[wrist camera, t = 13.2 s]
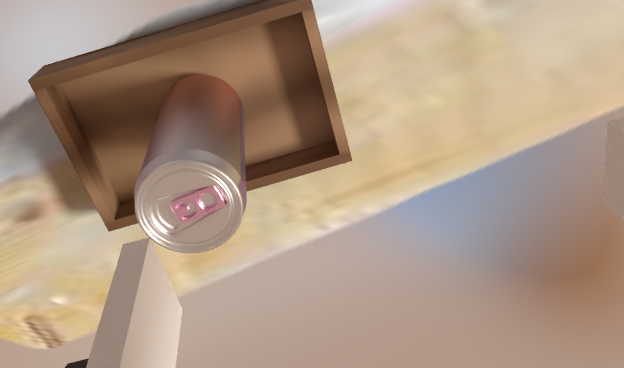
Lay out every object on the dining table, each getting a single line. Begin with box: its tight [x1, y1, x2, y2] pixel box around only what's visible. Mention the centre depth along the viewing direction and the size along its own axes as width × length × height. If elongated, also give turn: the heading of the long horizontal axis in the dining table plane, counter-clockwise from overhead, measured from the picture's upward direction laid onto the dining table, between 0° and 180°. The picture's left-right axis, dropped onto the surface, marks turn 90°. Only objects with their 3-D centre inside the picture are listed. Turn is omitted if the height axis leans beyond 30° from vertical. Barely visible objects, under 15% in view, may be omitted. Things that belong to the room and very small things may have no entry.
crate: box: [28, 0, 352, 231], centre depth 42 cm, size 13×20×4 cm, turn 105°
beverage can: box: [134, 75, 246, 253], centre depth 36 cm, size 6×6×15 cm
